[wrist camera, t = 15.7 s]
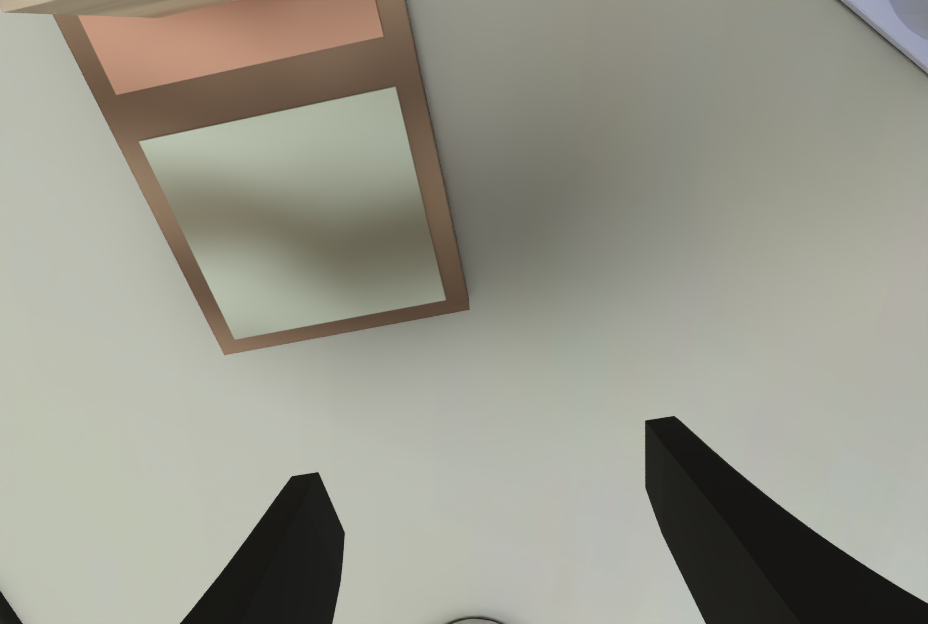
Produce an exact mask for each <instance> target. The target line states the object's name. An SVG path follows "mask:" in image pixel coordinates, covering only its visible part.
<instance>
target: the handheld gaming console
mask: <svg viewBox="0 0 928 624" xmlns="http://www.w3.org/2000/svg"><path fill="white" fill-rule="evenodd" d="M0 624H22V622H21V621H20V619H19V618H18V617H17V615H16V614H15V612H14V611H13V609H12V608H11V606H10V605H9V603H8V602H7V600H6V599H5V597H4V596H3V594H2V593H1V592H0Z"/></svg>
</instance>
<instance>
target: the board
mask: <svg viewBox="0 0 928 624" xmlns="http://www.w3.org/2000/svg"><path fill="white" fill-rule="evenodd" d="M53 16H54V18H55V20H56V22H57V24H58V26H59V28H60V30H61V32H62V34H63V36H64V38H65V40H66V42H67V44H68V46H69V48H70V50H71V52H72V54H73V56H74V58H75V60H76V62H77V64H78V66H79V68H80V70H81V72H82V74H83V76H84V78H85V80H86V82H87V84H88V86H89V88H90V90H91V92H92V94H93V96H94V98H95V100H96V102H97V104H98V106H99V108H100V110H101V112H102V114H103V116H104V118H105V119H106V121H107V123H108V125H109V127H110V129H111V131H112V133H113V135H114V137H115V139H116V141H117V143H118V145H119V147H120V149H121V151H122V153H123V155H124V157H125V159H126V161H127V163H128V165H129V167H130V169H131V171H132V173H133V175H134V177H135V179H136V181H137V183H138V185H139V187H140V189H141V191H142V193H143V195H144V197H145V199H146V201H147V203H148V205H149V207H150V209H151V211H152V213H153V215H154V217H155V219H156V221H157V223H158V225H159V226H160V228H161V230H162V232H163V234H164V236H165V238H166V240H167V242H168V244H169V246H170V248H171V250H172V252H173V254H174V256H175V258H176V260H177V262H178V264H179V266H180V268H181V270H182V272H183V274H184V276H185V278H186V280H187V282H188V284H189V286H190V288H191V290H192V292H193V294H194V296H195V298H196V300H197V302H198V304H199V306H200V308H201V310H202V312H203V314H204V316H205V318H206V320H207V322H208V324H209V326H210V328H211V330H212V332H213V333H214V335H215V337H216V339H217V341H218V343H219V345H220V347H221V349H222V351H223V353H224V355H228V354H233V353H239V352H244V351H249V350H255V349H260V348H266V347H271V346H276V345H282V344H287V343H292V342H298V341H303V340H309V339H314V338H319V337H325V336H330V335H336V334H341V333H346V332H352V331H357V330H362V329H368V328H373V327H379V326H384V325H389V324H395V323H400V322H405V321H411V320H416V319H422V318H427V317H432V316H438V315H443V314H449V313H454V312H459V311H465V310H470V309H469V299H468V294H467V289H466V284H465V279H464V275H463V270H462V265H461V260H460V256H459V251H458V246H457V241H456V237H455V232H454V227H453V222H452V218H451V213H450V208H449V203H448V199H447V194H446V189H445V185H444V180H443V175H442V170H441V166H440V161H439V156H438V151H437V147H436V142H435V137H434V132H433V128H432V123H431V118H430V113H429V109H428V104H427V99H426V94H425V90H424V85H423V80H422V75H421V71H420V66H419V61H418V56H417V52H416V47H415V42H414V37H413V33H412V28H411V23H410V18H409V14H408V9H407V4H406V0H236V1H232V2H228V3H223V4H219V5H215V6H210V7H206V8H201V9H197V10H193V11H188V12H184V13H180V14H175V15H171V16H166V17H162V18H143V17H116V16H89V15H62V14H53Z"/></svg>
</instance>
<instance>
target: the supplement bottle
mask: <svg viewBox="0 0 928 624" xmlns="http://www.w3.org/2000/svg"><path fill="white" fill-rule="evenodd" d="M453 624H499V623H496V622H493V621H489V620H482V619H467V620H462V621H458V622H455V623H453Z"/></svg>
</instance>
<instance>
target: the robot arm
mask: <svg viewBox="0 0 928 624" xmlns="http://www.w3.org/2000/svg"><path fill="white" fill-rule="evenodd" d="M841 1H842V2H843V3H844V4H845V5H847V6H848V7H849V8H850V9H851V10H853V11H854V12H855V13H856V14H857V15H859V16H860V17H861V18H862V19H863V20H864V21H866V22H867V23H868V24H869V25H870V26H872V27H873V28H874V29H875V30H876V31H878V32H879V33H880V34H881V35H882V36H883V37H885V38H886V39H887V40H888V41H889V42H891V43H892V44H893V45H894V46H895V47H897V48H898V49H899V50H900V51H901V52H902V53H904V54H905V55H906V56H907V57H908V58H910V59H911V60H912V61H913V62H914V63H916V64H917V65H918V66H919V67H920V68H921V69H923V70H924V71H925V72H926V73H927V74H928V0H841ZM645 488H646V491H647V493H648V496H649V499H650V502H651V505H652V508H653V511H654V513H655V516H656V519H657V521H658V524H659V527H660V530H661V532H662V535H663V537H664V539H665V541H666V543H667V545H668V547H669V549H670V551H671V553H672V555H673V558H674V560H675V562H676V564H677V566H678V568H679V570H680V572H681V574H682V576H683V578H684V580H685V582H686V584H687V586H688V588H689V590H690V592H691V594H692V596H693V598H694V600H695V602H696V604H697V606H698V609H699V611H700V613H701V615H702V617H703V619H704V621H705V623H706V624H928V603H926V602H924V601H923V600H921V599H919V598H917V597H916V596H914V595H912V594H910V593H909V592H907V591H905V590H903V589H902V588H900V587H898V586H897V585H895V584H893V583H892V582H890V581H889V580H887V579H885V578H884V577H882V576H881V575H879V574H877V573H876V572H874V571H873V570H871V569H869V568H868V567H866V566H865V565H863V564H862V563H860V562H859V561H857V560H856V559H854V558H853V557H851V556H850V555H848V554H847V553H845V552H844V551H842V550H841V549H839V548H838V547H836V546H835V545H833V544H832V543H830V542H829V541H827V540H826V539H825V538H823V537H822V536H820V535H819V534H818V533H816V532H815V531H813V530H812V529H811V528H809V527H808V526H806V525H805V524H804V523H802V522H801V521H800V520H798V519H797V518H796V517H794V516H793V515H792V514H790V513H789V512H788V511H786V510H785V509H784V508H782V507H781V506H780V505H778V504H777V503H776V502H775V501H773V500H772V499H771V498H769V497H768V496H767V495H766V494H764V493H763V492H762V491H761V490H760V489H758V488H757V487H756V486H755V485H753V484H752V483H751V482H750V481H748V480H747V479H746V478H745V477H744V476H742V475H741V474H740V473H739V472H737V471H736V470H735V469H734V468H733V467H732V466H730V465H729V464H728V463H727V462H726V461H725V460H723V459H722V458H721V457H720V456H719V455H718V454H717V453H715V452H714V451H713V450H712V449H711V448H710V447H709V446H707V445H706V444H705V443H704V442H703V441H702V440H701V439H700V438H699V437H697V436H696V435H695V434H694V433H693V432H692V431H691V430H690V429H689V428H688V427H687V426H685V425H684V424H683V423H682V422H681V421H680V420H679V419H677V418H676V417H675V416H671V417H665V418H659V419H652V420H646V421H645ZM344 537H345V532H344V530H343V528H342V525H341V523H340V521H339V519H338V516H337V514H336V512H335V509H334V507H333V505H332V502H331V500H330V498H329V496H328V493H327V491H326V489H325V486H324V484H323V482H322V479H321V477H320V475H319V473H318V472H316V473H310V474H304V475H297V476H292V477H291V478H290V480H289V481H288V482H287V484H286V485H285V486H284V488H283V489H282V490H281V492H280V493H279V494H278V496H277V497H276V499H275V500H274V501H273V503H272V504H271V506H270V507H269V508H268V510H267V511H266V513H265V514H264V515H263V517H262V518H261V520H260V521H259V522H258V524H257V525H256V527H255V528H254V529H253V531H252V532H251V534H250V535H249V536H248V538H247V539H246V540H245V542H244V543H243V544H242V546H241V547H240V548H239V550H238V551H237V552H236V554H235V555H234V556H233V558H232V559H231V560H230V562H229V563H228V565H227V566H226V567H225V568H224V570H223V571H222V572H221V574H220V575H219V576H218V578H217V579H216V580H215V581H214V583H213V584H212V585H211V586H210V587H209V589H208V590H207V591H206V592H205V594H204V595H203V596H202V597H201V599H200V600H199V601H198V602H197V604H196V605H195V606H194V607H193V609H192V610H191V611H190V612H189V614H188V615H187V616H186V617H185V618H184V619H183V621H182V622H181V623H180V624H332V622H333V617H334V612H335V607H336V602H337V597H338V592H339V587H340V582H341V573H342V563H343V551H344Z"/></svg>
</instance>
